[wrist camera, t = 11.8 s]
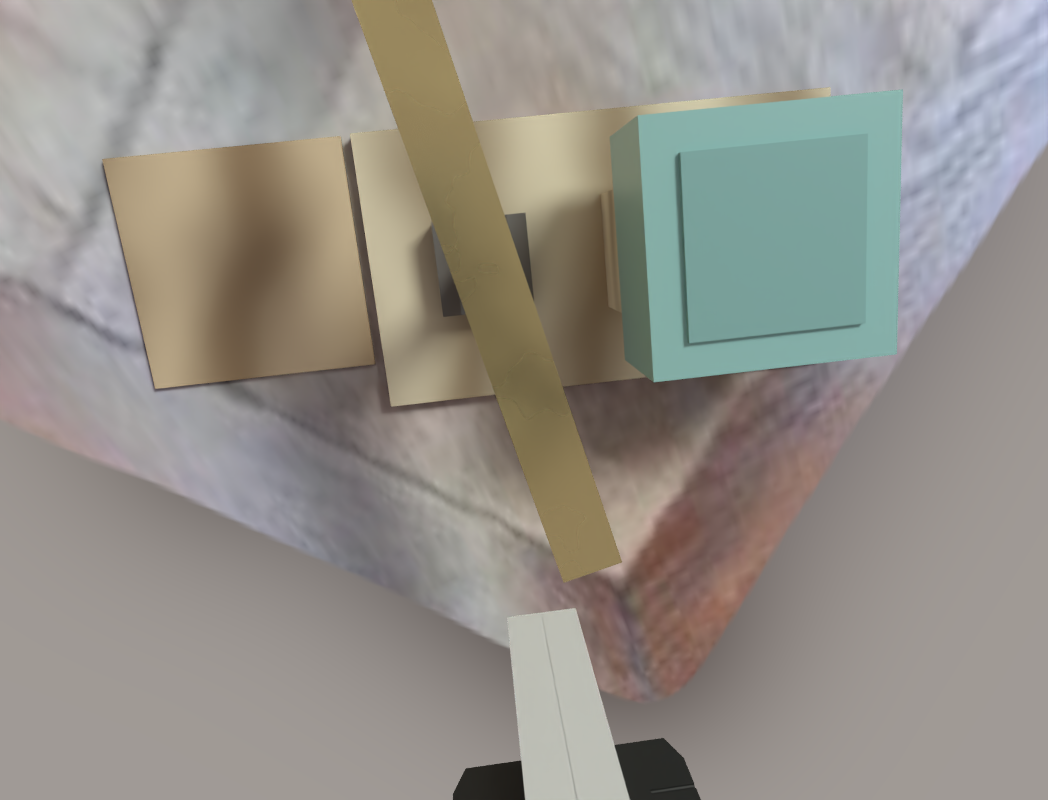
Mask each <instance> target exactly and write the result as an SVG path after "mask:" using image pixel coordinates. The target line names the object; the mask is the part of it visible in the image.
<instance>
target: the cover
mask: <svg viewBox="0 0 1048 800" xmlns="http://www.w3.org/2000/svg"><path fill="white" fill-rule="evenodd" d="M902 104H903V90H892V91H882V92H872V93H862V94H851V95H841V96H831V97H820V98H810V99H800V100H790V101H779V102H769V103H759V104H748V105H738V106H728V107H718V108H707V109H697V110H687V111H676V112H666V113H656V114H646V115H637V116H636V117H635V118H634V119H632V120H631V121H630V122H628V123H627V124H626V125H624V126H623V127H622V128H621V129H619V130H618V131H617V132H615V133H614V134H613V135H611V136H610V150H611V164H612V179H613V193H614V208H615V222H616V237H617V251H618V266H619V280H620V295H621V309H622V324H623V338H624V352H625V360H626V361H627V362H628V363H630V364H631V365H632V366H633V367H635V368H636V369H637V370H639V371H640V372H641V373H642V374H644V375H645V376H646V377H648V378H649V379H650V380H651V381H653V382H661V381H670V380H678V379H687V378H696V377H704V376H713V375H722V374H730V373H739V372H747V371H756V370H765V369H773V368H782V367H791V366H799V365H808V364H816V363H825V362H834V361H842V360H851V359H860V358H868V357H877V356H886V355H894V354H897V320H898V277H899V234H900V191H901V147H902Z"/></svg>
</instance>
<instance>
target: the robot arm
mask: <svg viewBox="0 0 1048 800" xmlns="http://www.w3.org/2000/svg"><path fill="white" fill-rule="evenodd" d="M507 622H508V632H509V642H510V652H511V662H512V671H513V682H514V692H515V702H516V712H517V722H518V732H519V742H520V752H521V761H515V762H508V763H501V764H494V765H487V766H480V767H473V768H466V769H465V771H464V773H463V775H462V777H461V779H460V781H459V783H458V785H457V787H456V789H455V791H454V793H453V800H701V799H700V797H699V794H698V792H697V789H696V788H695V787H694V782H693V780H692V777H691V775H690V772H689V770H688V767H687V765H686V762H685V760H684V758H683V757H682V756H681V755H680V754H679V753H678V752H677V751H676V750H675V749H674V748H673V747H672V746H671V745H670V744H669V743H668V742H667V741H666V740H665V739H664V738H661V739H654V740H647V741H640V742H633V743H626V744H620V745H614V742H613V739H612V735H611V732H610V728H609V725H608V722H607V718H606V714H605V711H604V707H603V704H602V700H601V697H600V693H599V690H598V686H597V682H596V679H595V675H594V672H593V668H592V665H591V661H590V658H589V654H588V651H587V647H586V644H585V640H584V637H583V633H582V630H581V626H580V623H579V619H578V615H577V612H576V608H573V609H565V610H558V611H550V612H543V613H535V614H528V615H520V616H513V617H507Z"/></svg>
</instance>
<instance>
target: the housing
mask: <svg viewBox="0 0 1048 800" xmlns="http://www.w3.org/2000/svg"><path fill="white" fill-rule="evenodd" d="M820 97H830V87H828V88H818V89H807V90H797V91H787V92H776V93H766V94H756V95H745V96H735V97H725V98H714V99H704V100H693V101H683V102H673V103H662V104H652V105H642V106H631V107H621V108H611V109H600V110H590V111H580V112H569V113H559V114H548V115H538V116H528V117H517V118H507V119H497V120H486V121H476V122H473V123H474V126H475V129H476V132H477V135H478V138H479V141H480V144H481V147H482V150H483V153H484V156H485V159H486V162H487V165H488V168H489V171H490V174H491V177H492V180H493V183H494V186H495V188H496V191H497V194H498V197H499V200H500V203H501V206H502V209H503V212H504V215H505V218H506V221H507V224H508V227H509V230H510V233H511V236H512V239H513V242H514V245H515V248H516V251H517V253H518V256H519V259H520V262H521V265H522V268H523V271H524V274H525V277H526V280H527V283H528V286H529V289H530V292H531V295H532V298H533V301H534V304H535V307H536V310H537V313H538V316H539V319H540V321H541V324H542V327H543V330H544V333H545V336H546V339H547V342H548V345H549V348H550V351H551V354H552V357H553V360H554V363H555V366H556V369H557V372H558V375H559V378H560V381H561V384H562V386H563V387H566V386H575V385H583V384H592V383H601V382H609V381H618V380H627V379H635V378H644V377H646V376H645V375H644V374H642V373H641V372H640V371H639V370H637V369H636V368H635V367H633V366H632V365H631V364H630V363H628V362H627V361H626V360H625V352H624V338H623V324H622V309H621V295H620V280H619V266H618V251H617V237H616V222H615V208H614V193H613V179H612V164H611V150H610V136H611V135H613V134H614V133H615V132H617V131H618V130H619V129H621V128H622V127H623V126H624V125H626V124H627V123H628V122H630V121H631V120H632V119H634V118H635V117H636V116H637V115H646V114H656V113H666V112H676V111H687V110H697V109H707V108H718V107H728V106H738V105H748V104H759V103H769V102H779V101H790V100H800V99H810V98H820ZM350 138H351V144H352V151H353V158H354V164H355V171H356V177H357V184H358V191H359V197H360V204H361V211H362V217H363V224H364V230H365V237H366V244H367V250H368V257H369V264H370V270H371V277H372V284H373V290H374V297H375V303H376V310H377V317H378V323H379V330H380V337H381V343H382V350H383V356H384V363H385V370H386V376H387V383H388V390H389V396H390V403H391V407H393V406H401V405H410V404H419V403H427V402H436V401H445V400H453V399H462V398H471V397H479V396H488V395H495V393H494V390H493V387H492V384H491V382H490V379H489V376H488V373H487V371H486V368H485V365H484V362H483V360H482V357H481V354H480V351H479V349H478V346H477V343H476V340H475V338H474V335H473V332H472V330H471V327H470V324H469V321H468V319H467V316H466V313H465V310H464V308H463V305H462V302H461V299H460V297H459V294H458V291H457V288H456V286H455V283H454V280H453V277H452V275H451V272H450V269H449V266H448V264H447V261H446V258H445V255H444V253H443V250H442V247H441V244H440V242H439V239H438V236H437V233H436V231H435V228H434V225H433V222H432V220H431V217H430V214H429V211H428V209H427V206H426V203H425V200H424V198H423V195H422V192H421V190H420V187H419V184H418V181H417V179H416V176H415V173H414V170H413V168H412V165H411V162H410V159H409V157H408V154H407V151H406V148H405V146H404V143H403V140H402V137H401V135H400V132H399V129H393V130H383V131H372V132H362V133H352V134H350Z"/></svg>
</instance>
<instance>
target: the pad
mask: <svg viewBox="0 0 1048 800" xmlns="http://www.w3.org/2000/svg"><path fill="white" fill-rule="evenodd" d="M102 160H103V164H104V169H105V173H106V177H107V182H108V186H109V190H110V195H111V199H112V203H113V208H114V212H115V216H116V221H117V225H118V229H119V234H120V238H121V242H122V247H123V251H124V255H125V260H126V264H127V268H128V273H129V277H130V281H131V286H132V290H133V294H134V299H135V303H136V307H137V312H138V316H139V320H140V325H141V329H142V333H143V338H144V342H145V346H146V351H147V355H148V359H149V364H150V368H151V372H152V377H153V381H154V385H155V389H159V388H168V387H177V386H185V385H194V384H203V383H212V382H221V381H230V380H239V379H248V378H257V377H266V376H274V375H283V374H292V373H301V372H310V371H319V370H328V369H337V368H346V367H355V366H363V365H372V364H376V363H375V357H374V350H373V344H372V337H371V331H370V324H369V318H368V311H367V305H366V298H365V292H364V285H363V279H362V272H361V266H360V259H359V253H358V246H357V240H356V233H355V227H354V220H353V214H352V207H351V201H350V194H349V188H348V181H347V175H346V168H345V162H344V155H343V149H342V142H341V137H340V136H337V137H327V138H316V139H306V140H296V141H285V142H275V143H265V144H254V145H244V146H234V147H223V148H213V149H202V150H192V151H182V152H171V153H161V154H151V155H140V156H130V157H120V158H109V159H102Z"/></svg>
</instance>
